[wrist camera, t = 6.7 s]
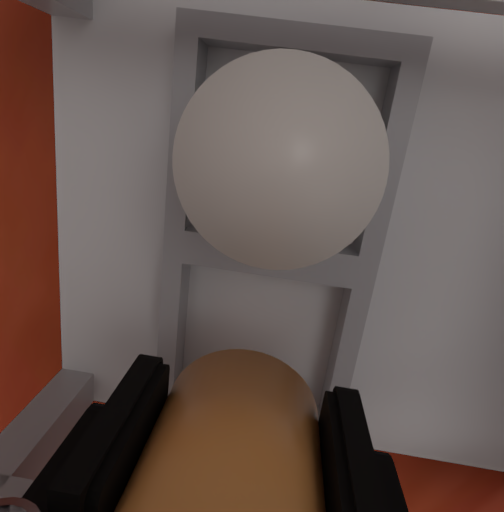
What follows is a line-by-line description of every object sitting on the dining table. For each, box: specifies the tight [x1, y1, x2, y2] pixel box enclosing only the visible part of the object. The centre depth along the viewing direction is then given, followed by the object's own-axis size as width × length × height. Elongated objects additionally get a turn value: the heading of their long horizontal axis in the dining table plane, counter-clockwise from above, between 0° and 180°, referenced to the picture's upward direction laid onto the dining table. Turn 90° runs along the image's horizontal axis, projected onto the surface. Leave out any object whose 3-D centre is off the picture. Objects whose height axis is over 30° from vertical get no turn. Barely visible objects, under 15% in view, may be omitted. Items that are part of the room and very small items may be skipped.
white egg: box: [172, 48, 390, 270], centre depth 9 cm, size 4×4×5 cm
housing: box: [0, 0, 504, 498], centre depth 10 cm, size 14×24×6 cm, turn 83°
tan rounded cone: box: [114, 349, 326, 512], centre depth 8 cm, size 4×4×5 cm
